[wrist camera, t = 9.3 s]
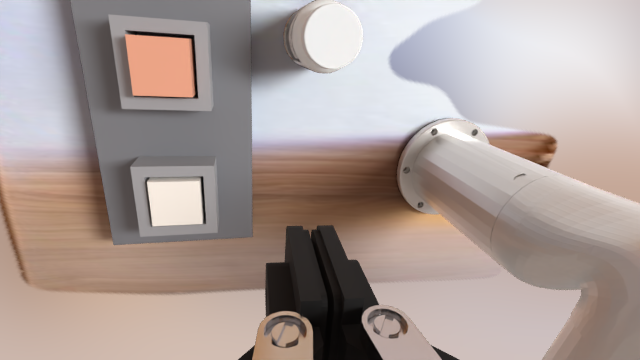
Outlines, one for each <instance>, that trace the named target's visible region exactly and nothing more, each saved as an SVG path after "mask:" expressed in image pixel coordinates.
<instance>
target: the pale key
mask: <svg viewBox="0 0 640 360" xmlns="http://www.w3.org/2000/svg"><path fill="white" fill-rule="evenodd" d="M147 186H148V194H149V202H150V210H151V218H152V226H170V225H191V224H203V219H204V214H205V199H204V183H203V176H191V177H150V178H149V180H148V181H147Z"/></svg>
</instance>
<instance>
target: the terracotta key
mask: <svg viewBox="0 0 640 360" xmlns="http://www.w3.org/2000/svg"><path fill="white" fill-rule="evenodd" d="M125 38H126V46H127V54H128V61H129V69H130V76H131V84H132V92H133V96H165V97H193V96H194V95H195V94H196V93H197V89H196V73H195V58H194V42H193V39H186V38H172V37H157V36H142V35H128V34H125Z"/></svg>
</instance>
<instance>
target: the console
mask: <svg viewBox="0 0 640 360" xmlns="http://www.w3.org/2000/svg"><path fill="white" fill-rule="evenodd" d="M70 2H71V8H72V14H73V19H74V25H75V31H76V36H77V42H78V47H79V53H80V59H81V64H82V70H83V76H84V81H85V87H86V92H87V98H88V104H89V109H90V115H91V121H92V126H93V132H94V137H95V143H96V149H97V154H98V160H99V166H100V171H101V177H102V182H103V188H104V194H105V199H106V205H107V211H108V216H109V222H110V227H111V233H112V239H113V244H114V245H123V244H141V243H158V242H175V241H193V240H210V239H228V238H245V237H253V230H252V113H251V0H70ZM125 34H128V35H142V36H157V37H172V38H186V39H193V42H194V58H195V73H196V89H197V93H196V94H195V95H194V96H193V97H165V96H133V92H132V84H131V76H130V69H129V61H128V54H127V46H126V38H125ZM191 176H203V183H204V199H205V214H204V219H203V224H191V225H170V226H152V218H151V210H150V202H149V194H148V186H147V181H148V180H149V178H150V177H191Z"/></svg>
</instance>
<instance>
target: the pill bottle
mask: <svg viewBox="0 0 640 360" xmlns="http://www.w3.org/2000/svg"><path fill="white" fill-rule="evenodd" d="M283 39H284V45H285V49H286V51H287V53H288V55H289V56H290V58H291V59H292V60H293V61H294V62H295V63H297V64H298V65H300V66H302V67H304V68H307V69H309V70H312V71H314V72H317V73H332V72H335V71H337V70H339V69H341V68H343V67H345V66H347V65H348V64H350V63H351V62H352V61H353V60H354V59H355V58H356V56H357V55H358V53H359V51H360V49H361V46H362V41H363V30H362V26H361V23H360V20H359V19H358V17H357V15H356V14H355V13H354V12H353V11H352V10H351V9H350V8H348V7H347V6H345V5H342V4H340V3H339V2H336V1H334V0H315V1H312V2H311V3H309V4H307V5H306V6H304V7H302V8H301V9H299V10H298V11H296V12H295V13H294V14H293V15H292V16H291V17H290V18H289V20H288V21H287V23H286V26H285V29H284V36H283Z"/></svg>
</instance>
